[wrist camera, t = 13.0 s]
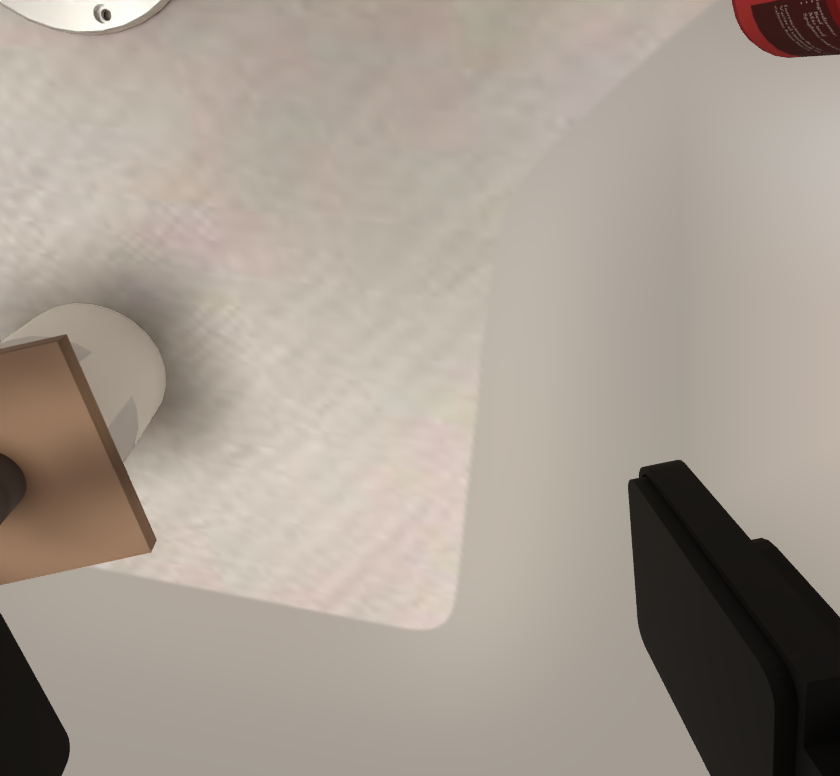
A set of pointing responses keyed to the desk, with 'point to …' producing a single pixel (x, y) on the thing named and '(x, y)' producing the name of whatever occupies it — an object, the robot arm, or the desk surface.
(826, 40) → the canned food
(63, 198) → the desk surface
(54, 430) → the lid
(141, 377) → the white cylindrical piece
